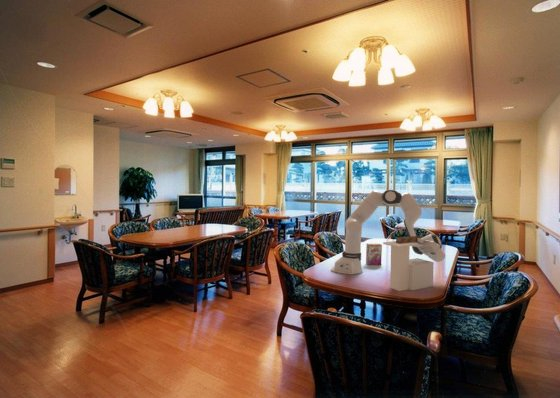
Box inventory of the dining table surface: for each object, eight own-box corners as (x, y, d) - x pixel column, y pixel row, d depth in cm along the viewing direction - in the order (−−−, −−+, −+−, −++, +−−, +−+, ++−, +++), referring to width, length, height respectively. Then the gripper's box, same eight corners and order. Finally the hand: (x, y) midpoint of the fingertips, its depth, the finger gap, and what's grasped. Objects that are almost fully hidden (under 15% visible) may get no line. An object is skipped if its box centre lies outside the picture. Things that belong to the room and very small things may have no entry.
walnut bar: (399, 243, 191) (400, 238, 190) (396, 242, 193) (396, 237, 193) (420, 241, 199) (420, 236, 199) (416, 240, 202) (416, 235, 201)
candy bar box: (367, 265, 251) (368, 244, 250) (365, 263, 256) (366, 243, 255) (381, 265, 251) (382, 244, 251) (379, 263, 256) (379, 243, 256)
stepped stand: (397, 293, 185) (398, 245, 184) (382, 287, 196) (383, 242, 194) (433, 285, 199) (434, 241, 198) (416, 280, 210) (417, 238, 209)
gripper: (415, 240, 214) (402, 231, 208) (442, 245, 196) (430, 236, 190) (411, 249, 213) (399, 240, 207) (439, 255, 195) (426, 245, 189)
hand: (414, 238), depth 198 cm, fingers closed on walnut bar, 3 cm apart
